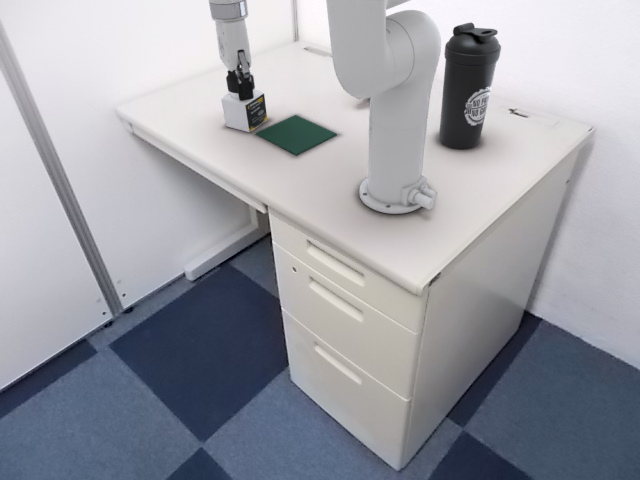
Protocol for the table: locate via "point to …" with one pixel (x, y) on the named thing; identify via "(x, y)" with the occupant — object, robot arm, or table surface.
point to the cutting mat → (296, 134)
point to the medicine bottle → (243, 106)
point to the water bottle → (467, 84)
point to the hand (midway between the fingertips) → (241, 92)
